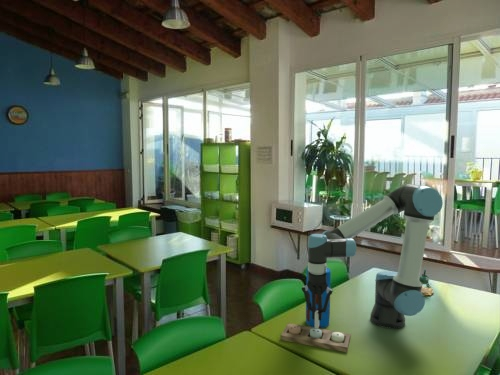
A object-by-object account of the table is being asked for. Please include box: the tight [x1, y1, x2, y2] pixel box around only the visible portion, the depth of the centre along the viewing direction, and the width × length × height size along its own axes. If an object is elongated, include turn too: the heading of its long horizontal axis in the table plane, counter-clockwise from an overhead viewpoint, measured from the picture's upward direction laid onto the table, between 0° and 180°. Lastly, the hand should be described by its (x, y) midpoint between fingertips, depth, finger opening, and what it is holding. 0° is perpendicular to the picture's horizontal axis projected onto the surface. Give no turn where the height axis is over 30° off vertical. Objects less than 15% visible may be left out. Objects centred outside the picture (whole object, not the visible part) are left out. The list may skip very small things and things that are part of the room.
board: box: [280, 323, 351, 353], centre depth 155 cm, size 27×12×2 cm, turn 69°
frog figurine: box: [419, 268, 434, 297], centre depth 208 cm, size 10×18×15 cm, turn 121°
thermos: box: [305, 267, 332, 329], centre depth 170 cm, size 11×11×25 cm
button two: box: [309, 327, 322, 339], centre depth 155 cm, size 5×5×3 cm
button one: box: [331, 331, 345, 343], centre depth 152 cm, size 5×5×3 cm
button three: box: [289, 324, 301, 335], centre depth 158 cm, size 5×5×3 cm
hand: (317, 326), depth 155 cm, fingers closed
